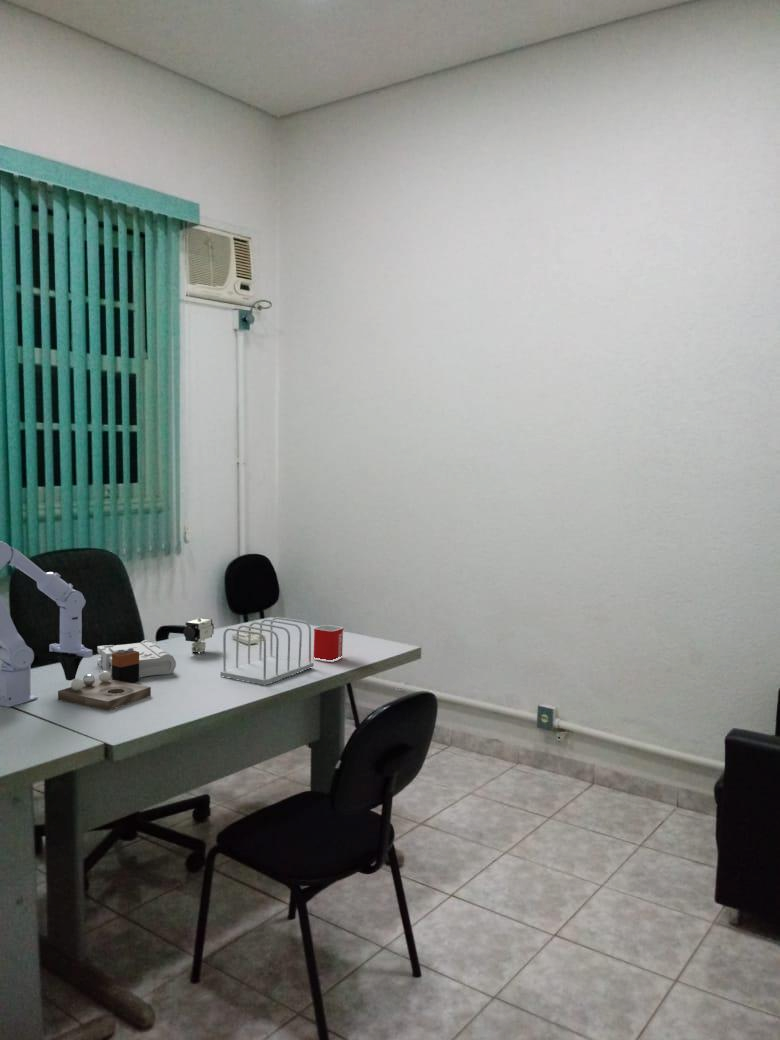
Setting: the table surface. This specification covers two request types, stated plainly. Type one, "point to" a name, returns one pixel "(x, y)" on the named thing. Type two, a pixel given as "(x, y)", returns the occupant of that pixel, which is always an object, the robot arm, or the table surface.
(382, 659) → the table surface
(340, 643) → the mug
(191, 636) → the pneumatic valve
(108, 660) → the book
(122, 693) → the hole plate
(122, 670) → the battery
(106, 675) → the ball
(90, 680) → the steel ball
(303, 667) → the file sorter
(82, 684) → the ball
